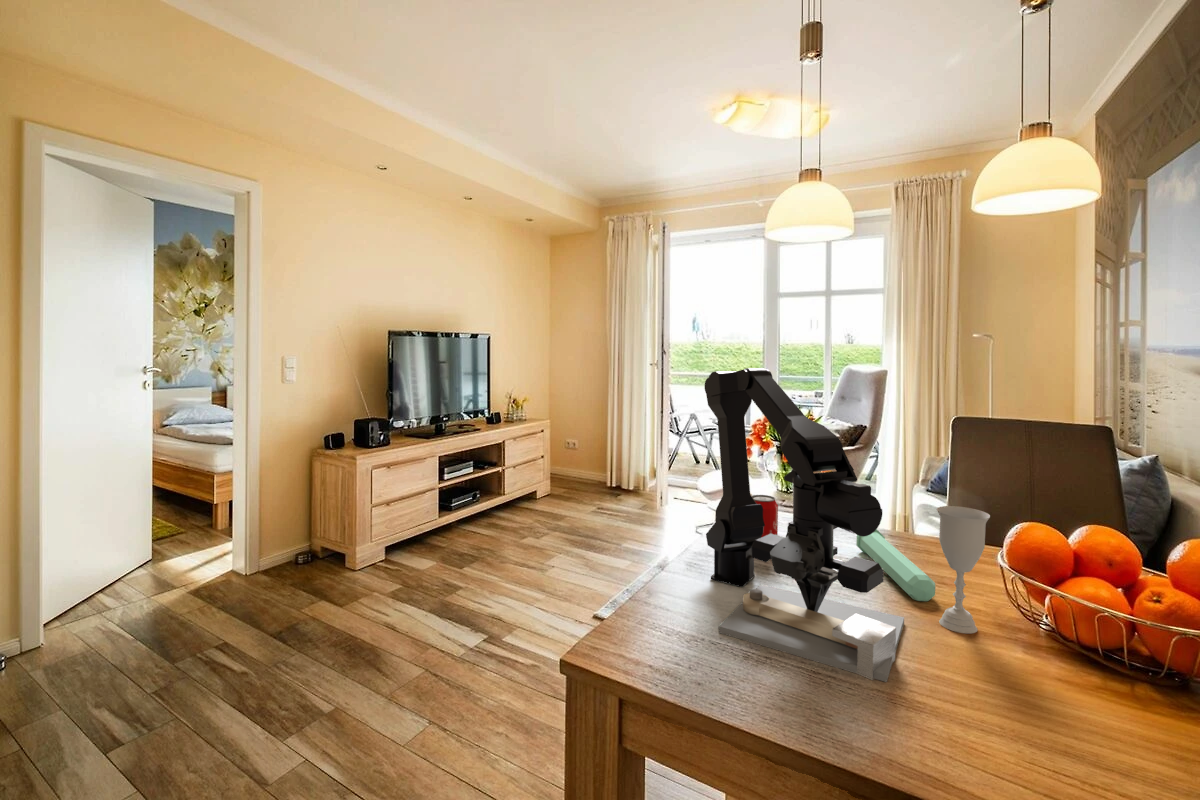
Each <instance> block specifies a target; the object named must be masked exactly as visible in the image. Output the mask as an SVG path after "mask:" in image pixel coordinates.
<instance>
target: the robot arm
mask: <svg viewBox="0 0 1200 800" xmlns="http://www.w3.org/2000/svg"><path fill="white" fill-rule="evenodd" d="M704 391H705V392H704V393H705V394H706V400H707V406H708V407H709V409H710V411H711V412H712V413H713V414H714V416H715V417H716V420H717V430H718V431H717V433H718V444H719V455H720V456H719V457H720V469H721V483H722V496H721V498H720V500H719V502H718V505H717V507H716V508H715V521H714V522H715V523H713V525H712V526H711V528H709V530H708V531H707V532H706V534H705V537H706V544H707V547H708V546H709V548H711V549H713V551H714V553H713V554H714V557H713V558H714V559H713V561H714V562H713V565H714V566H713V567H714V568H713V571H714V573H713V574H711V576H710V580H712V581H716V582H720V583H725V584H728V585H732V586H737V587H742V588H743V587H744V586H746V585H747V584H748V583H749V582H750V581H751V580H752V579H753V578H754V577H755V560H758V561H761V562H764V563H767V562H768V561H770V560H771V564H772V568H773V571H774V573H775V574H777V575H783V576H786V577H787V576H788V577H789V578H791V579H793V580H795V582H796V584H797V587H798V589H799V591H800V593H801V594H802V596H803V599H804V602H805V604H806V607H807V609H808V610H812V611H815V612H818V610H819V607H820V605H821V603H822V601H823V599H825V597H826V595H827V593H828V591H829V589H830V588H831V586H832V585H833V583H835V582H836V581H838V582H839V584H840V585H841V586H842V587H843V588H846V589H848V590H852V591H855V592H858V593H861V594H868V593H869V592H870V591H872V590H873V589H875V588H876V587H878V586H879V585H881V584H882V583H883V582H884V570H883V569H882V568H881V566H880V565H879V563H877V562H875V561H874V560H869V559H865V558H862V557H858V556H854V557H852V558H850V559H849V560H847V561H843V560H841V559H837V558H835V557H834V556H836V555H838V547H837V546H834V530H835V529H838V528H839V529H842V530H845V531H847V532H849V533H852V534H854V535H856V536H857V535H859V536H868V535H870V534H872V533H873V532H874V531H875V530H876V529H877V530H878V528H879V526H880V524H881V522H882V519H883V508H882V506H881V504H880V501H879V500H878V499H877V498H876V497H875V496H874V495H872V487H871V485H868V484H864V483H857V482H858V477H857V475H856V473H855V469H854V468H853V466H852V464H851V463H850V461H849V458H848V456H847V454H846V453H845V450H844V446H843V443H842V441H841V440H840V438H839V437H838V436H837V435H836V433H833V431H831V430H829V428H827V427H826V426H825V425H823V424H821V423H818V422H816V421H814V420H811V419H810V418H808V417H807V416H806V415H805V414H804V413H803V412H802V411H801V409H799V407H798V406H797V405H796V404H795V403H794V401H793V400H792V399H791V398H790V397H789V395H788V394H787V393H786V392H785V391H784V390H783V388H782V387H781V386H780V385H779V384H778V382H777V381H776V380H775V379H774V378H773V373H772V372H771V371H770V370H769V369H767V368H764V367H751V368H749V367H745V368H743V369H741V370H738V371H737V370H736V371H735V370H733V371H732V370H731V371H725V370H724V371H721V370H720V371H712V372H711V373H710V374H709V376H708V377H707V378H706V379H705V381H704ZM752 402H753V403H754V404H755V405H756V407H757V408H758V409H759V410H760V412H761V413H762V414H763V416H764V418H766V419H767V421H768V423H769V424H770V425H771V426H772V427H773V429H774V430H775V431H776V432H777V434H778V437H780V450H781V453H782V454H783V456H784V458H785V460H786V461H787V463H788V465H789V467H790V468H791V469H792V470H791V471H789V472H788V473H787V474H785V475H784V477H783V480H784V481H785V482H788V483H791V484H792V521H789V522H788V523H787V524H788V525H787V528H786V529H787V531H786V534H785V536H780V535H778V534H777V535H774V534H768V535H766V536H764V537H762V535H763V529H764V526H765V523H764V519H763V507H762V505H761V504H757V503H756V502H755V500H754V499H753V497H752V496H753V495H751V484H750V473H749V471H750V470H749V460H748V450H747V449H748V448H747V435H746V434H747V433H746V422H745V421H746V420H745V417H746V414H747V412H748V410H749V408H750V406H751V404H752ZM834 470H835V471H834Z"/></svg>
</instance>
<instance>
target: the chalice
mask: <svg viewBox="0 0 1200 800" xmlns="http://www.w3.org/2000/svg"><path fill="white" fill-rule="evenodd" d="M936 511H937V513H938V515H939V537H938V540H939V544H940V547H941V550H942V553H943V555H944V557H945V559H946V561H947V564H948V565H949V568H950V569H952V570H953V571H955V573H956V577H955V580H954V582H953V583H954V585H955V592H953V593H952V595H953V597H954V599H955V600H954V601H955V603H954V605H952V606H951V607H948V608H946V609H945V610H944V613H943V614H942V616H941V618H940V619H939V622H938V623H939V624H940V626H942V627H943V628H945V629H947V630H950V631H952V632H955V633H959V634H975V633H977V632H978V627H977V626H976V622H975V620H974V618H973V615H972V614H971V613H970V612H969V611H968V610H966V609H965V607H964V605H963V601H964V599H966V597H967V595H966V594H965V593H964V587H965V586H966V585H967V584H966V583H965V579H964V578H965V577H964V575H965V574H966V573H970V572H972V570H973V569H974V567H975V566H976V564H977V562H978V561H979V560H980V558H981V556H982V554H983V552H984V550H985V546H986V542H985V541H986V524H987V522H988V520H989V519H990V518H991V515H990V514H989V513H988V512H985V511H984V510H983V511H982V510H980V509H977V508H976V509H975V508H971V507H964V506H958V505H957V506H954V505H944V506H943V505H942V506H939V507H937V508H936Z"/></svg>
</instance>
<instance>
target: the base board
mask: <svg viewBox="0 0 1200 800" xmlns="http://www.w3.org/2000/svg"><path fill="white" fill-rule="evenodd" d="M755 589H759V590H761V591H762V592H763V593H762V594H764V595H766V596H767V597H770V598H773V599H776V600H779V601H783V602H786V603H789V604H792V605H796V606H799V607H802V608H805V609H807V607H806V604H805V602H804V599H803V596H802V594H801V592H797V591H794V590H793V591H792V590H787V589H784V588H780V587H779V588H778V587H777V586H776V587H774V586H770V585H766V584H761V583H760V584H759V585H757V586H756V587H755ZM818 613H821V614H825V615H828V616H831V617H834V618H837V619H841V620H844V621H845V620H847V619H848V618H850V617H851V616H853V615H854V614H859V615H862V616H865V617H868V618H871V619H874V620H876V621H879V622H882V623H885V624H888V625H891V626H894V627H896V646H895V654H896V653H897V650H898V644H899V642H900V639H901V635H902V632H903V628H904V626H905V616H899V615H895V614H891V613H886V612H882V611H878V610H874V609H871V608H870V609H869V608H866V607H861V606H857V605H853V604H848V603H846V602H845V603H844V602H840V601H835V600H833V599H832V600H831V599H827V598H824V599H823V601H822V603H821V605H820V607H819V610H818ZM718 633H719V634H722V635H727V636H728V637H729V636H730V637H732V638H736V639H740V640H742V641H746V642H749V643H754V644H755V645H756V644H757V645H761V646H762V647H766V648H769V649H773V650H777V651H780V652H783V653H787V654H790V655H793V656H797V657H799V658H802V659H803V658H804V659H807V660H810V661H813V662H817V663H820V664H823V665H828V666H830V667H832V668H833V667H834V668H837V669H840V670H844V671H847V672H850V673H854V674H857V656H858V649H856V648H853V647H850V646H847V645H845V644H842V643H839V642H836V641H833V640H830V639H828V638H825V637H822V636H819V635H816V634H813V633H810V632H807V631H804V630H801V629H798V628H795V627H792V626H789V625H786V624H783V623H780V622H777V621H774V620H771V619H769V618H766V617H763V616H760V615H752V614H749V613H747V612H745V611H744V610H743V601H742V602H740V604H739V605H738V606H737V607H736V608H735V609H734V610H733V611H731V613H730V614H729V615H728V616H727V617H726V618H725V619H724V621H722V622H721V623H720V624H719V625H718ZM892 659H893V656H892V657H891V658H890V659H889V660H887V661H886V662H885V663H884V664H883V665H882V666H880V667H879V668H878V669H877V670H876V671H875V675H874V679H873V680H878V681H880V682H885V683H888V679H889V676H890V672H891V669H892V665H893V663H892Z"/></svg>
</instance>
